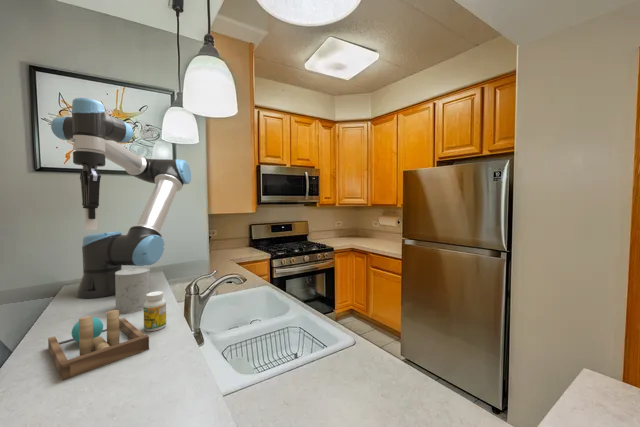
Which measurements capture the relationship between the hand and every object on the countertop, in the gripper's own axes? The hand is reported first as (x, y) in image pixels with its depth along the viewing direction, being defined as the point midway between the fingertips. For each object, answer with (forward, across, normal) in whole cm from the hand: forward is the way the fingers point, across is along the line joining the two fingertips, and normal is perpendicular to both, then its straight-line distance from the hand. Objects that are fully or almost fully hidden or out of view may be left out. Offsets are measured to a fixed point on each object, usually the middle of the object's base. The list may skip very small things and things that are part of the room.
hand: (91, 229), depth 84 cm
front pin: (+25, +24, -4) cm, 35 cm away
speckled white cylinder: (+27, +3, +10) cm, 29 cm away
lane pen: (+26, +26, -4) cm, 37 cm away
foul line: (+26, +16, -4) cm, 31 cm away
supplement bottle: (+27, +24, +9) cm, 37 cm away
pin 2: (+26, +28, -2) cm, 38 cm away
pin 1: (+26, +28, -6) cm, 39 cm away
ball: (+23, +20, -5) cm, 31 cm away
